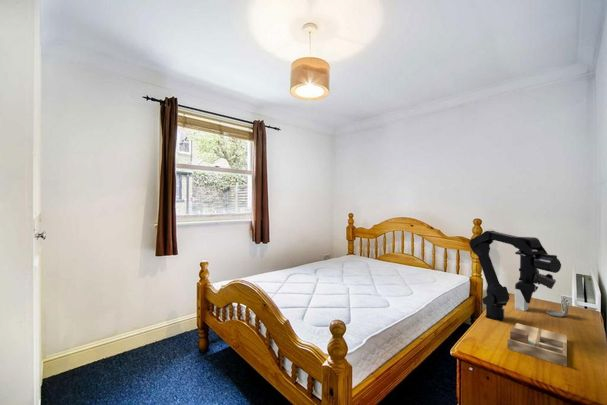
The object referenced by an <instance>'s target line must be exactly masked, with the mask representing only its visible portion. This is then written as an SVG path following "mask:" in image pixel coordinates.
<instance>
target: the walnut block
mask: <svg viewBox="0 0 607 405" xmlns="http://www.w3.org/2000/svg"><path fill="white" fill-rule="evenodd" d="M514 327H515V326H514ZM514 327H513V326H512V327H511V329H510V331H509V339H511V340H515V341H518V342H522V343H525V344H528V331H525V330H521V329H517V328H514Z"/></svg>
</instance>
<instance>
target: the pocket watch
mask: <svg viewBox="0 0 607 405" xmlns="http://www.w3.org/2000/svg"><path fill="white" fill-rule="evenodd" d="M566 298H567V297H566V295H564V296H563V297H562V300H561V302H560V310H561V312H559V311H557V310H552V309H550V310H549V309H548V310H545V312H546V314H547V315H550V316H554V317H558V318H559V317H560V318H562V317H563V318H564V317H565V316H567V315H569V306H568V303H567V301H566Z"/></svg>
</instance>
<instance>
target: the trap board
mask: <svg viewBox="0 0 607 405" xmlns="http://www.w3.org/2000/svg"><path fill="white" fill-rule="evenodd" d="M514 328H517V329H521V330H525V331H528V344H525V343H522V342H518V341H515V340H511V339H510V338H507V350H509V351H514V352H517V353H521V354H524V355H527V356H530V357H533V358H536V359H540V360H543V361H546V362H550V363H553V364H556V365H561V366H562V367H563V366H564V367H567V366H568V363H567V362H568V359H567V358H568V357H567V356H568V355H567V354H568V353H567V352H568V351H567V350H568V348H567V347H568V346H567V345H568V342H567V341H568V338H567V336H568V335H566V334H562V333H560V332H559V333H557V332H553V331H549V330H546V329H543V328H542V329H541V328H538V327H534V326H529V325H527V324H526V325H525V324H521V323H519V322H517V323H515V325H514ZM567 368H568V367H567Z"/></svg>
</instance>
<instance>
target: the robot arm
mask: <svg viewBox="0 0 607 405" xmlns="http://www.w3.org/2000/svg"><path fill="white" fill-rule="evenodd" d="M494 241H497V242H500V243H503V244H507V245H511V246H513V247H514V248H516V249H518V250H517V251H515V252H514V254H515V255H519V268H518V271H519V277H518V281H516V283H515V285H514V290H515V289H518V290H520V291H521V293H522V295H523V297H524V299H525V301H526V303H529V304H530V303H531V301H532V297H533V293H536V291H537V290H538V288H539V286H537V285H542V286H544V287H546V288H548V289H549V290H552V289H553V287H554V285H556V282H557V280H556V278H555V279H554V276H553V275H552V274H550V272H551V273H555V274H556V273H559V272H560V271H561V269H562V262H561V261H560V260H559V259H558V255H556V254H548V252H547V250H546V249H545V248H544V246H543V245H542V243H541V241H540V239H539V238H538V237H533V236H516V235H512V234H507V233H503V232H499V231H495V230H485V231H484V232H482V233H481V234H479V235H477V236H475V237H473V238H471V239H470V240H469V247H470V249H471V251H472V253H474V255H476V256H477V258H478V261H479V264H480V266H481V270H482V272H483V275H484V278H485V281H486V284H487V287H486V290H485V292H486V296H484V297H483V298H482V303H483V305H484V306H485V311H486V312H485V313H486V314H485V316H484V317H485V318H487V319H491V320H495V321H499V322H502V321H503V320H504V319H505V308H504V307H505V306H507V303H508V302H509V300H510V293H509V291H508V288H507V286H503V285H502V284H501V283H500V281H499V278H498V276H497V273H496V270H495V267H494V265H493V262H492V260H491V257H490V251H491V246H490V245H491V244H493V243H494ZM540 270H541V271H545V272H549V273H547V274H542V273H540Z"/></svg>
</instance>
